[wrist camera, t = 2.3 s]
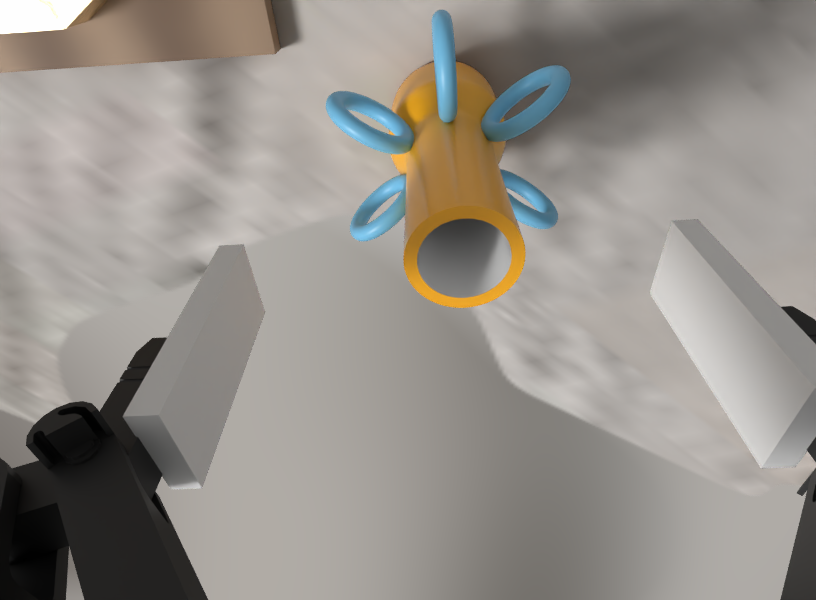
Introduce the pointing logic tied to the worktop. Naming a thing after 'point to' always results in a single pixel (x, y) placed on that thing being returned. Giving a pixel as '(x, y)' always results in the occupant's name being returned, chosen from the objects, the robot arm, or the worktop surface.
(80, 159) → the worktop surface
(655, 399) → the worktop surface
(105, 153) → the worktop surface
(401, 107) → the cylinder
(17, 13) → the tan flat ring
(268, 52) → the seat plate
